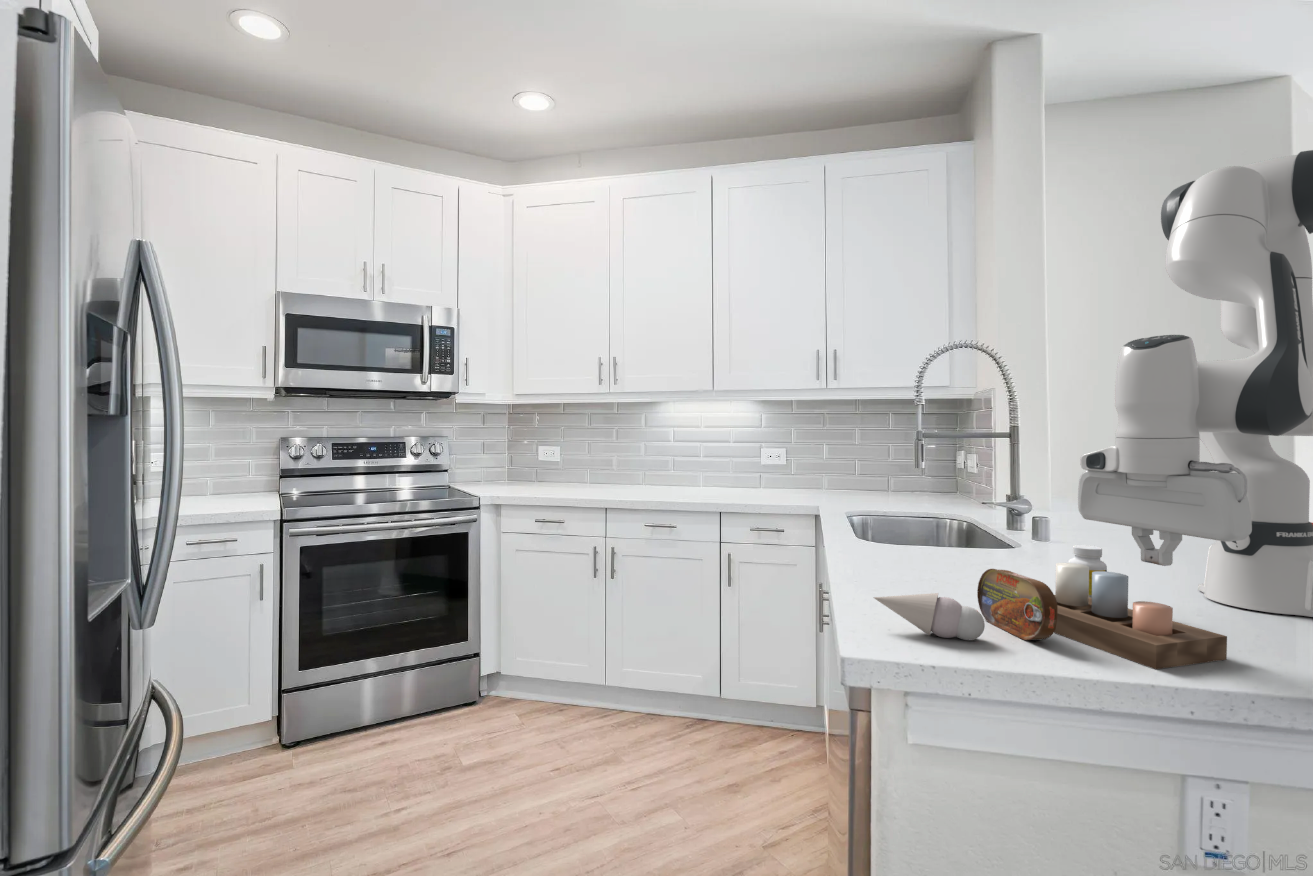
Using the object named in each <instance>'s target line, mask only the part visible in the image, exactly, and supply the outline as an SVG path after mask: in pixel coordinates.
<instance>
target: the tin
mask: <svg viewBox="0 0 1313 876" xmlns="http://www.w3.org/2000/svg"><path fill="white" fill-rule="evenodd" d="M977 584H978V585H977V590H976V591H977V594H976V595H977V604H978V608H979V610H980V612H981V613H980V614H981V615H982V617H983V619H984V620H985V621H986V622H987V623H989V624H990V625H992V626H994V627H996V628H999V629H1000V630H1002V631H1004V632H1007V633H1009V634H1011V635H1013V636H1015V637H1017V638H1019V639H1020V640H1023V641H1031V640H1033V641H1042V640H1046V639H1049V638H1050V637H1052V635H1053V634H1055V633H1054V631H1055V629H1056V624H1057V616H1058V610H1057V609H1058V606H1057V601H1056V598H1055V596H1054V595H1055V593H1054V592H1053V590H1052V589H1051V588H1050V587H1049V586H1048V585H1047V584H1046V583H1045V582H1044V581H1041V580H1038V579H1035V578H1031V577H1028V576H1025V575H1022V574H1020V573H1018V572H1017V573H1016V572H1013V571H1011V570H1007V569H996V568H988V569H987V570H985V571H984V572H983V573H982V574H981V576H980V578H979V580H978V583H977Z"/></svg>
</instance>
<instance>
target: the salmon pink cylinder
mask: <svg viewBox="0 0 1313 876" xmlns="http://www.w3.org/2000/svg"><path fill="white" fill-rule="evenodd" d="M1132 610H1133V622H1132V628H1133V629H1136V630H1139V631H1142V632H1145V633H1149V634H1152V635H1155V636H1162V635H1170V634H1172V622H1173V621H1174V619H1173V615H1174V613H1173V612H1174V611H1173V610H1174V609H1173V607H1172V606H1170V605H1167V604H1163V603H1160V602H1153V601H1143V600H1141V601H1133V602H1132Z"/></svg>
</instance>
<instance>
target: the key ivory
mask: <svg viewBox="0 0 1313 876" xmlns="http://www.w3.org/2000/svg"><path fill="white" fill-rule="evenodd" d="M1054 595H1055V598H1056V601H1057V602H1058V603H1061V604H1065V605H1071V606H1087V605H1089V567H1088V566H1086V565H1081V564H1075V563H1068V562H1057V563H1055V593H1054Z"/></svg>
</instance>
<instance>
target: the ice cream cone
mask: <svg viewBox="0 0 1313 876" xmlns="http://www.w3.org/2000/svg"><path fill="white" fill-rule="evenodd" d="M873 599H874V600H876V601H877V602H879V603H880V604H882V605H883V606H885V607H886V608H888V609H889V610H891V611H893V612H894V613H895V614H897V615H898V616H900V617H901V618H902V619H904V620H906V621H907V622H908V623H910V624H911V625H913V626H914V627H915V628H918V629H919V630H920V631H922V632H923V633H925V634H926V635H928V636H931V633H932V634H934V635H935V636H938V637H940V638H944V639H952V638H955V637H957V638H959V639H961V640H963V641H973V640H977V639H978V638H979V637H981V636H982V634H983V633H984V631H985V625H986V624H985V618H984V616H983V615H982V613H980V611H978V610H977V609H975V608H973V607H971V606H967V605H964V606H963V605H962V604H961V603H960V602H958V601H957V600H956V599H954V598H952V597H947V596H939V592H933V593H932V592H931V593H919V594H905V595H902V594H901V595H889V596H876V597H875V596H874V597H873Z"/></svg>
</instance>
